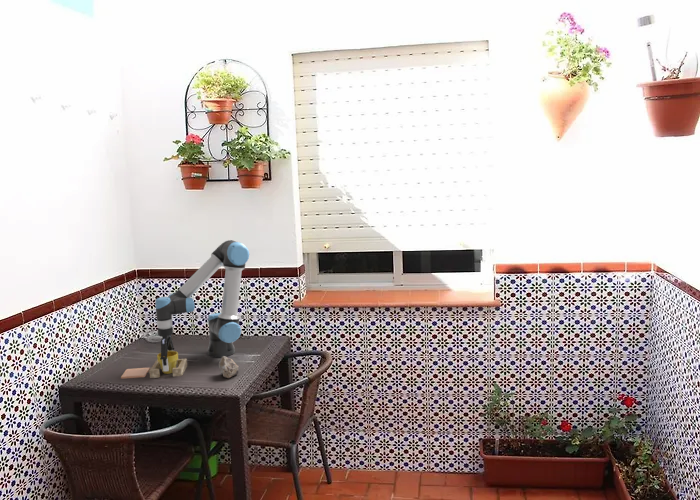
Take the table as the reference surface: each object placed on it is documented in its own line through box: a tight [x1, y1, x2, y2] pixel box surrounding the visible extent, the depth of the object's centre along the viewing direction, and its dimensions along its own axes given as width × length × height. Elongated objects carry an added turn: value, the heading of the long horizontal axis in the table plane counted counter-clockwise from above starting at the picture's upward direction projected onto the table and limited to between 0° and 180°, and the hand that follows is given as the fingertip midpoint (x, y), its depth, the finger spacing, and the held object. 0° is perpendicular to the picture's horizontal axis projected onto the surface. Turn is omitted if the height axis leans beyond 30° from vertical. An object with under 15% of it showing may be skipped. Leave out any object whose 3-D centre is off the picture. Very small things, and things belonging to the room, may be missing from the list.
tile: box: [120, 367, 151, 379], centre depth 342 cm, size 12×12×1 cm
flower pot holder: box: [148, 358, 188, 379], centre depth 343 cm, size 16×16×4 cm
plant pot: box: [156, 350, 179, 375], centre depth 343 cm, size 10×10×10 cm
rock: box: [218, 356, 240, 379], centre depth 332 cm, size 9×12×10 cm
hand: (168, 366), depth 343 cm, fingers open, 13 cm apart
